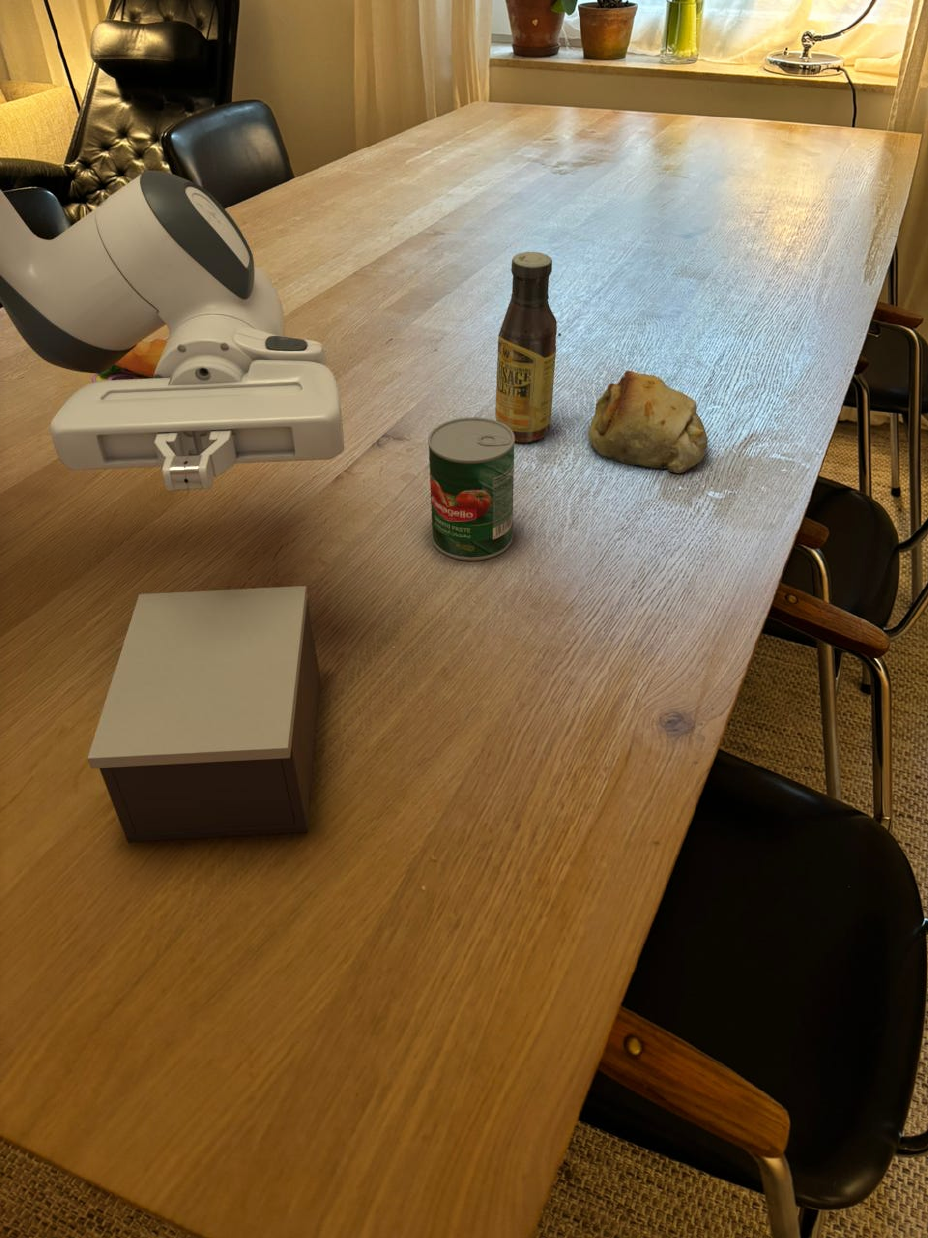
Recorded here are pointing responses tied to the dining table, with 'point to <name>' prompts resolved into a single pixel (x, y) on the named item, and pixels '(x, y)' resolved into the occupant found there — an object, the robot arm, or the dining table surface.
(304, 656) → the open box
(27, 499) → the dining table surface
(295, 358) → the robot arm
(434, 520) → the canned tomato
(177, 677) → the box lid
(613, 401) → the pastry
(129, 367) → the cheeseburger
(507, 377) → the sauce bottle
